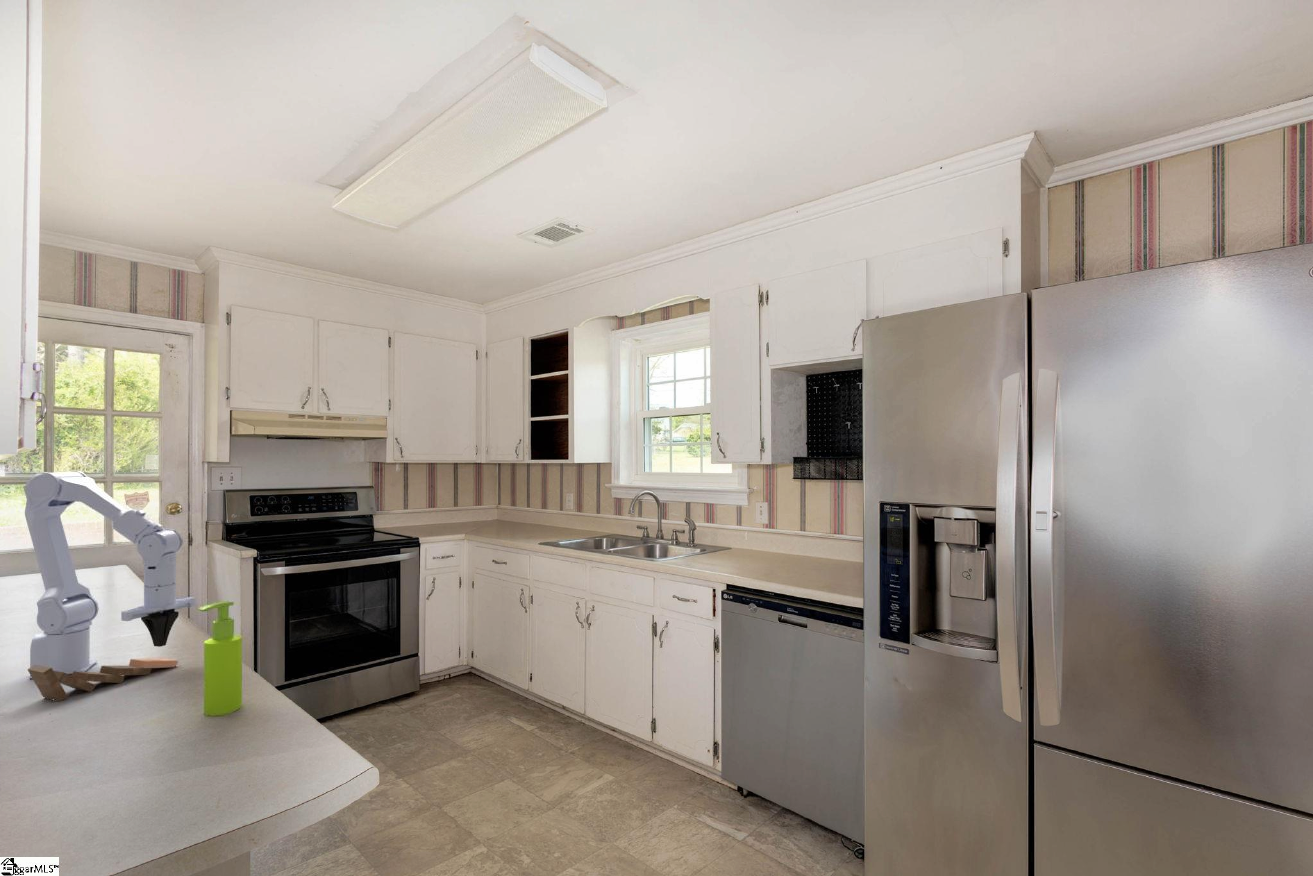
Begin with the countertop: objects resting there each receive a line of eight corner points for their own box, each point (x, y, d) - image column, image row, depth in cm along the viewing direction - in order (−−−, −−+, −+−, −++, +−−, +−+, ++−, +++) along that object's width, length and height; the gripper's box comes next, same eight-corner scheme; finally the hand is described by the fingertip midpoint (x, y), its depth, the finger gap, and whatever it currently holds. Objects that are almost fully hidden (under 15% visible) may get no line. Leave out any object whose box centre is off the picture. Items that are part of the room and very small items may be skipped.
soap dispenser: (191, 714, 121) (191, 605, 121) (230, 701, 127) (230, 597, 128) (209, 720, 118) (209, 608, 119) (248, 706, 124) (248, 600, 125)
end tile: (59, 701, 128) (43, 672, 126) (43, 698, 130) (27, 669, 127) (67, 696, 129) (51, 667, 127) (51, 693, 131) (35, 664, 129)
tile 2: (149, 674, 143) (115, 675, 137) (134, 672, 145) (99, 672, 139) (151, 667, 144) (117, 668, 137) (136, 665, 145) (101, 665, 139)
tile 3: (122, 683, 138) (86, 681, 132) (106, 680, 140) (70, 678, 134) (124, 676, 139) (89, 673, 133) (109, 673, 140) (73, 671, 134)
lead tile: (176, 667, 148) (144, 668, 142) (161, 664, 150) (128, 665, 144) (178, 660, 149) (146, 661, 142) (163, 658, 150) (130, 659, 144)
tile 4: (91, 692, 133) (58, 679, 128) (75, 689, 135) (42, 676, 130) (96, 685, 134) (63, 672, 129) (80, 682, 136) (48, 669, 131)
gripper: (136, 592, 140) (136, 657, 140) (204, 579, 153) (204, 638, 153) (115, 590, 142) (114, 653, 142) (183, 577, 156) (183, 635, 156)
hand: (159, 645), depth 148 cm, fingers closed
